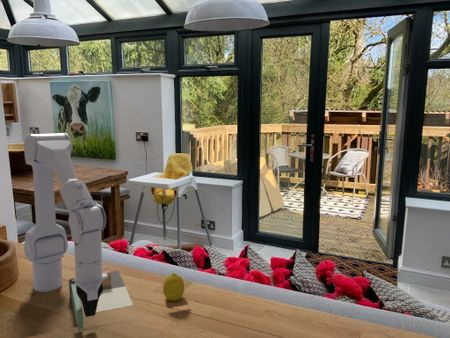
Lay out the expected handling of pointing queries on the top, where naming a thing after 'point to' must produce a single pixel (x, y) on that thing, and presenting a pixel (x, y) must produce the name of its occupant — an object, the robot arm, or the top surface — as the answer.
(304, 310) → the top surface
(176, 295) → the lemon
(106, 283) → the block
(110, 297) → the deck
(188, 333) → the top surface
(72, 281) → the gate post
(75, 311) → the bar
